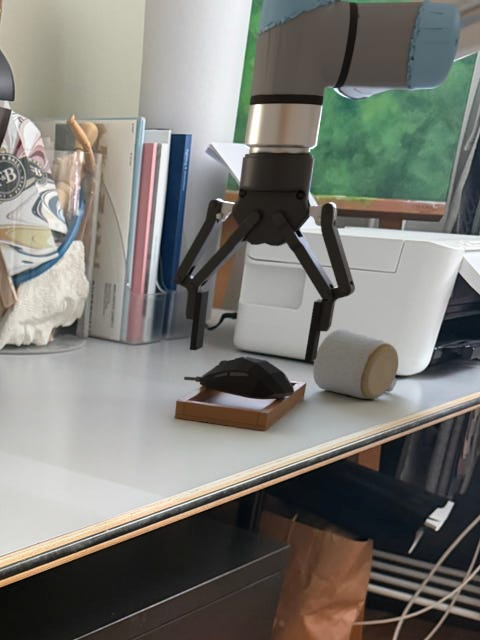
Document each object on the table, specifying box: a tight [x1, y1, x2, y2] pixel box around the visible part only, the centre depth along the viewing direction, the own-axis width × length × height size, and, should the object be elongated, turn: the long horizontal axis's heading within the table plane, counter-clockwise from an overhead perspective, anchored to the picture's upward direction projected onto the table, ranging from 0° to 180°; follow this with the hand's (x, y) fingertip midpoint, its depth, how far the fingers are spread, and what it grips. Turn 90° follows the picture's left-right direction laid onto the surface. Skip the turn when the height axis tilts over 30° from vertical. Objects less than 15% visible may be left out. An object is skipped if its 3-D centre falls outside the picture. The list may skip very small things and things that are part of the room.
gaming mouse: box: [183, 356, 294, 399], centre depth 112 cm, size 6×15×4 cm, turn 43°
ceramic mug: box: [312, 328, 399, 400], centre depth 120 cm, size 11×8×8 cm
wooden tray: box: [174, 380, 307, 432], centre depth 113 cm, size 10×20×2 cm, turn 151°
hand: (251, 354), depth 110 cm, fingers open, 13 cm apart
